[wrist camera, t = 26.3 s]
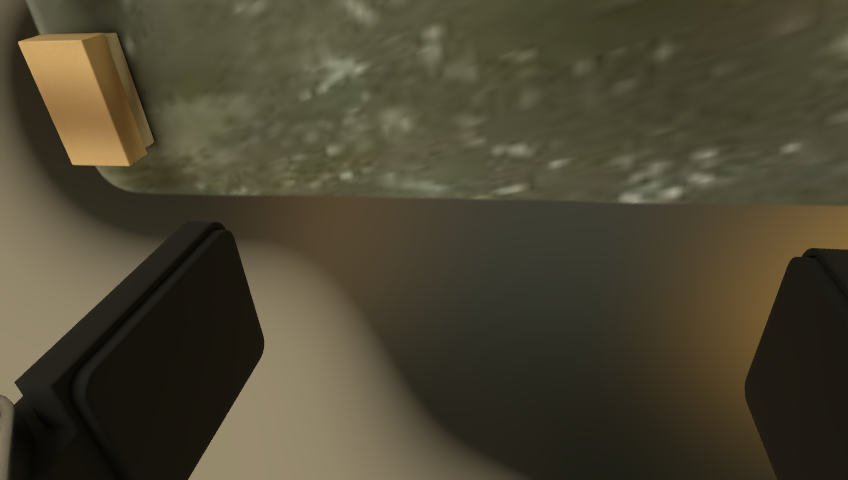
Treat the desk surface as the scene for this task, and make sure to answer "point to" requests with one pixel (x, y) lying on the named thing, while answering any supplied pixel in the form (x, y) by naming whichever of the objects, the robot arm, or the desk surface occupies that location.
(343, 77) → the desk surface
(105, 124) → the tan rectangular brick
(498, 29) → the desk surface
